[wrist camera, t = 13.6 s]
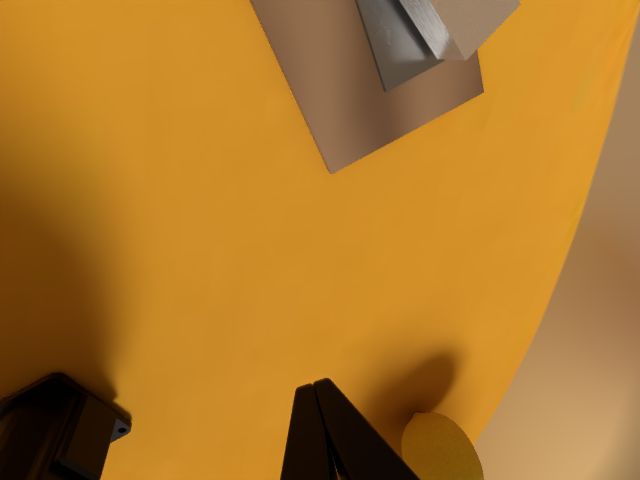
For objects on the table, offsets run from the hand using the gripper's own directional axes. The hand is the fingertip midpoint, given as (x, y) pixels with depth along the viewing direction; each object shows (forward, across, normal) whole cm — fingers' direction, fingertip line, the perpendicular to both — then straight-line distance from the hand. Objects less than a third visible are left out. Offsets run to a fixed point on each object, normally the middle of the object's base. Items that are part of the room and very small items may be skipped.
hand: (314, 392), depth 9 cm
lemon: (+12, -8, +23) cm, 27 cm away
